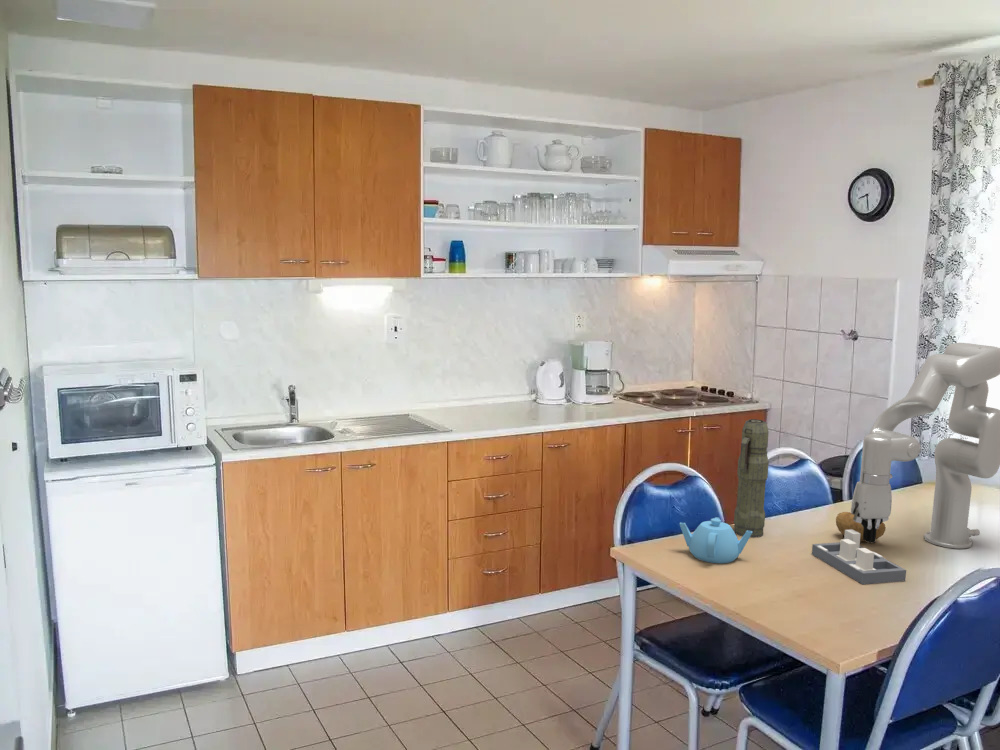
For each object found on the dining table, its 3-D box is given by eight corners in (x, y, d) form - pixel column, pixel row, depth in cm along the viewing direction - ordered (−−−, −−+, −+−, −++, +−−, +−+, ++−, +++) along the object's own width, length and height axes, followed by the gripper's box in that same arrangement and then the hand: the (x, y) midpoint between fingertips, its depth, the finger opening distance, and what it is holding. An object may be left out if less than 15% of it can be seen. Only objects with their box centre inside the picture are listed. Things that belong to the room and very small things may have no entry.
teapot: (674, 550, 233) (676, 514, 232) (715, 543, 240) (718, 508, 238) (709, 569, 220) (711, 531, 218) (752, 561, 226) (755, 524, 225)
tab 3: (864, 570, 218) (866, 547, 217) (875, 576, 214) (877, 553, 213) (851, 571, 217) (853, 548, 217) (862, 577, 213) (864, 554, 212)
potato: (880, 550, 237) (882, 523, 236) (830, 539, 246) (832, 513, 244) (888, 541, 245) (890, 515, 244) (839, 531, 253) (841, 506, 252)
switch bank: (851, 551, 236) (852, 540, 235) (905, 580, 214) (906, 568, 214) (811, 554, 233) (812, 543, 232) (862, 584, 211) (863, 572, 211)
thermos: (726, 533, 248) (733, 421, 243) (743, 524, 257) (750, 416, 252) (753, 540, 243) (761, 425, 238) (770, 531, 251) (778, 420, 246)
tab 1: (851, 550, 233) (853, 528, 232) (862, 555, 229) (863, 533, 228) (839, 551, 232) (841, 529, 232) (849, 556, 228) (851, 534, 227)
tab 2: (848, 560, 225) (849, 538, 224) (858, 566, 221) (860, 543, 220) (835, 561, 224) (837, 539, 223) (845, 567, 220) (847, 544, 219)
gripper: (888, 474, 234) (882, 535, 237) (842, 476, 231) (837, 538, 233) (907, 481, 227) (900, 544, 230) (860, 483, 224) (854, 547, 226)
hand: (868, 541), depth 232 cm, fingers closed
